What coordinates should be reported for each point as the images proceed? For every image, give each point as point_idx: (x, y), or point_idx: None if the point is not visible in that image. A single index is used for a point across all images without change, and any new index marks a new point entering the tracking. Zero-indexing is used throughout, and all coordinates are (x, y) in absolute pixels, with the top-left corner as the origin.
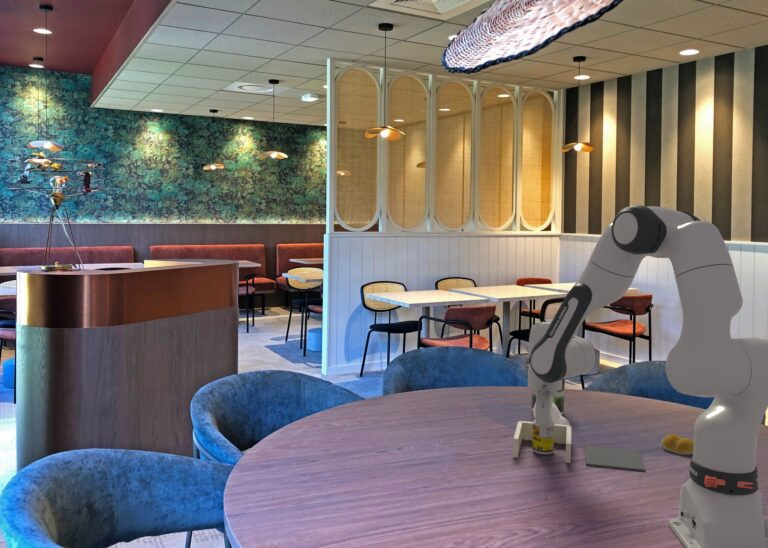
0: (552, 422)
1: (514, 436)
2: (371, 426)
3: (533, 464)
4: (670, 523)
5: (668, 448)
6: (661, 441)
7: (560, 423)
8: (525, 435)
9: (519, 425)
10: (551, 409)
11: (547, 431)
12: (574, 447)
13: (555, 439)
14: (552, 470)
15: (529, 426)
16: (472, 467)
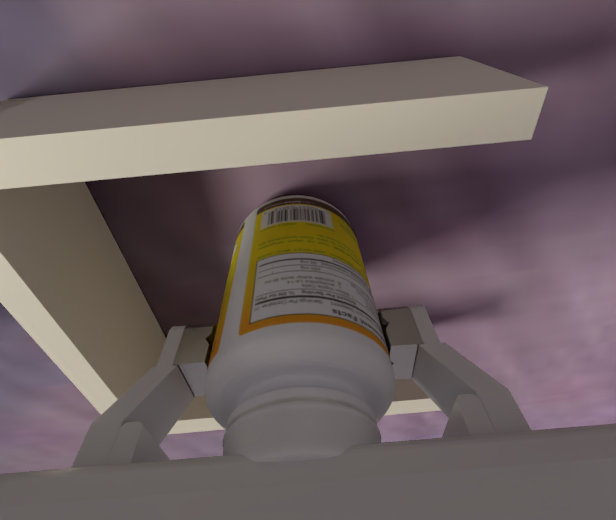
0: (310, 362)
1: (410, 412)
2: None
3: (496, 253)
4: None
5: None
6: None
7: None
8: (154, 347)
9: (204, 424)
10: (134, 503)
11: (380, 326)
12: (82, 56)
13: (82, 212)
14: (590, 157)
15: (128, 381)
16: (532, 395)
